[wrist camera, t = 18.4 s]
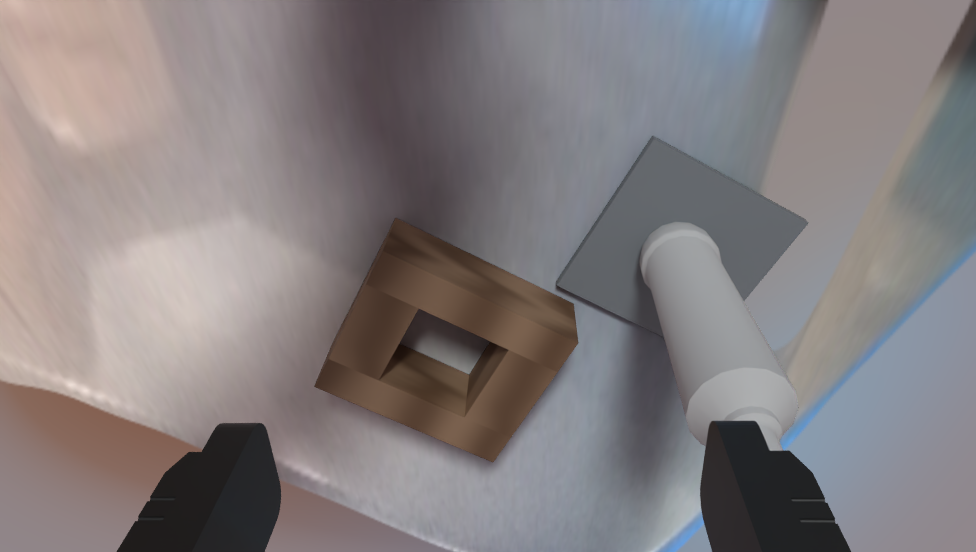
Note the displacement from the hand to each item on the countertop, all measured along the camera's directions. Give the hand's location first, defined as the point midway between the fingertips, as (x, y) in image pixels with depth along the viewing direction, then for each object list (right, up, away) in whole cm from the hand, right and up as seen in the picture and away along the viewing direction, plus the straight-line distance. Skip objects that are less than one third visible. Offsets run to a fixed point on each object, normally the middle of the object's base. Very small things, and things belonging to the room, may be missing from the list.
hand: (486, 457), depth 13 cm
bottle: (+13, +5, +35) cm, 38 cm away
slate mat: (+13, +5, +36) cm, 38 cm away
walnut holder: (-3, 0, +39) cm, 39 cm away
